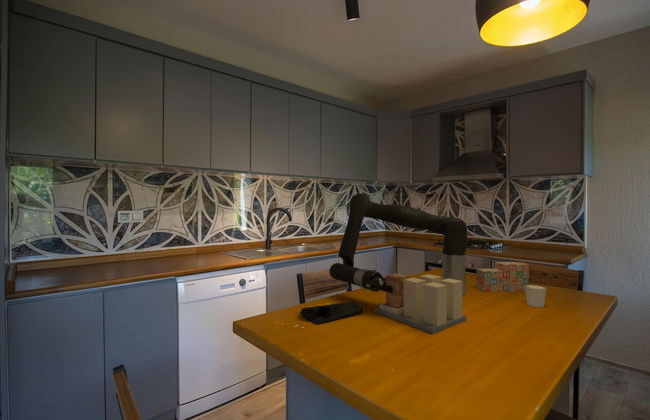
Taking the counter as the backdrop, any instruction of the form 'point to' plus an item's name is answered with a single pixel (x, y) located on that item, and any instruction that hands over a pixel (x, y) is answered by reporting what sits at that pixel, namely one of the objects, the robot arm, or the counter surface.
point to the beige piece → (535, 295)
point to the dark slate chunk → (330, 312)
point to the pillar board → (428, 304)
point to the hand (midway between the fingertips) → (400, 288)
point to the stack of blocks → (503, 277)
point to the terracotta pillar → (395, 291)
